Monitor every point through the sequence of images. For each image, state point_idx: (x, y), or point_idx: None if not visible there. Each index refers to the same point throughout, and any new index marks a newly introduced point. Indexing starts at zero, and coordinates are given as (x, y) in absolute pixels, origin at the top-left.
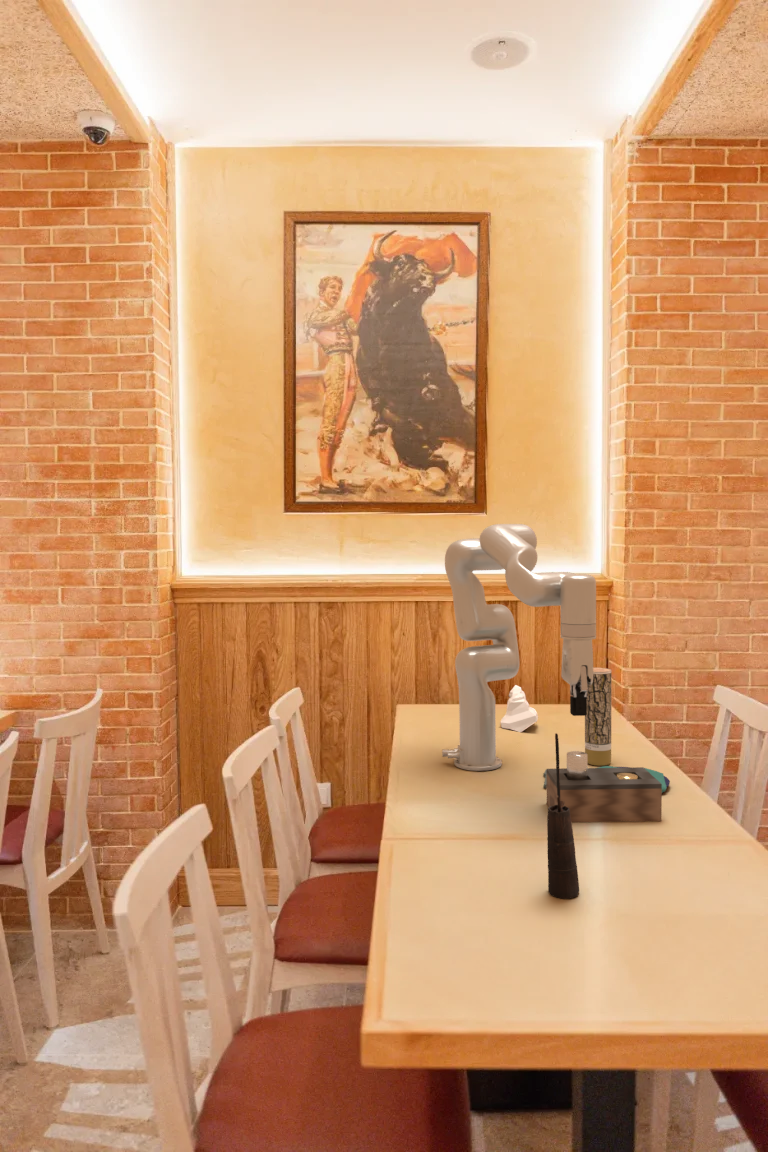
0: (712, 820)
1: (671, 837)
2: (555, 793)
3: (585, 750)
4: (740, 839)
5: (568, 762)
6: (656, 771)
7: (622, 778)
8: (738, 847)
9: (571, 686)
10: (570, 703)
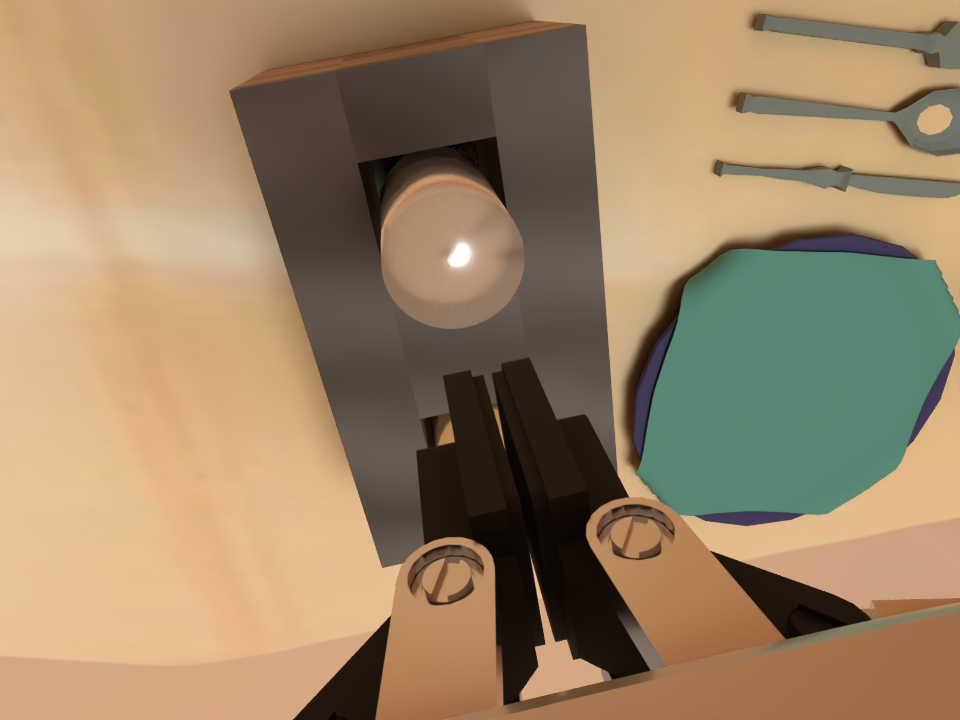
0: None
1: (222, 484)
2: (312, 70)
3: None
4: (267, 640)
5: (413, 188)
6: (847, 497)
7: (445, 431)
8: (196, 632)
9: (654, 644)
10: (543, 426)
